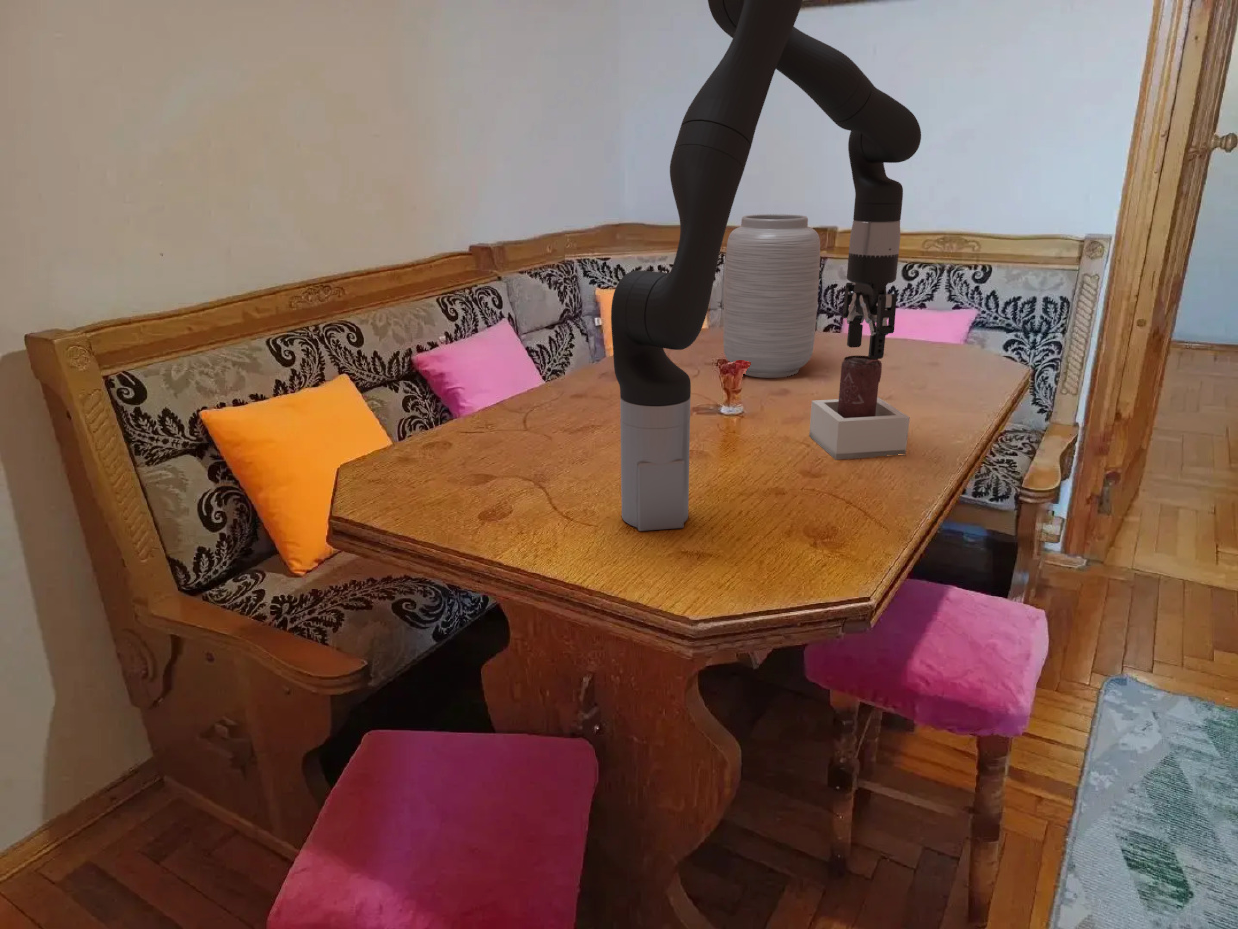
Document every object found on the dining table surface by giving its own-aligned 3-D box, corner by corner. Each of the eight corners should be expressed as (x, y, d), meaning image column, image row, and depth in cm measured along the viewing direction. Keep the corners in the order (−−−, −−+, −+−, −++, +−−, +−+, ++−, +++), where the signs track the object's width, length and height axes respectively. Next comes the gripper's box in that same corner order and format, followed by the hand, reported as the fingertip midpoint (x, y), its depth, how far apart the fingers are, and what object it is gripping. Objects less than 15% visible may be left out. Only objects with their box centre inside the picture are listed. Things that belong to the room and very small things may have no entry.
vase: (743, 385, 180) (750, 221, 168) (708, 363, 198) (712, 214, 186) (828, 377, 185) (841, 218, 173) (787, 357, 203) (796, 211, 191)
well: (905, 455, 138) (909, 417, 136) (835, 459, 137) (838, 421, 135) (874, 432, 150) (877, 396, 147) (809, 436, 148) (811, 400, 146)
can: (876, 446, 140) (884, 363, 135) (836, 444, 141) (843, 362, 136) (872, 434, 145) (880, 354, 140) (834, 433, 146) (841, 353, 141)
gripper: (918, 255, 126) (906, 361, 131) (877, 244, 139) (867, 342, 145) (870, 256, 125) (860, 364, 130) (833, 246, 138) (826, 344, 144)
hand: (864, 352), depth 138 cm, fingers open, 8 cm apart
